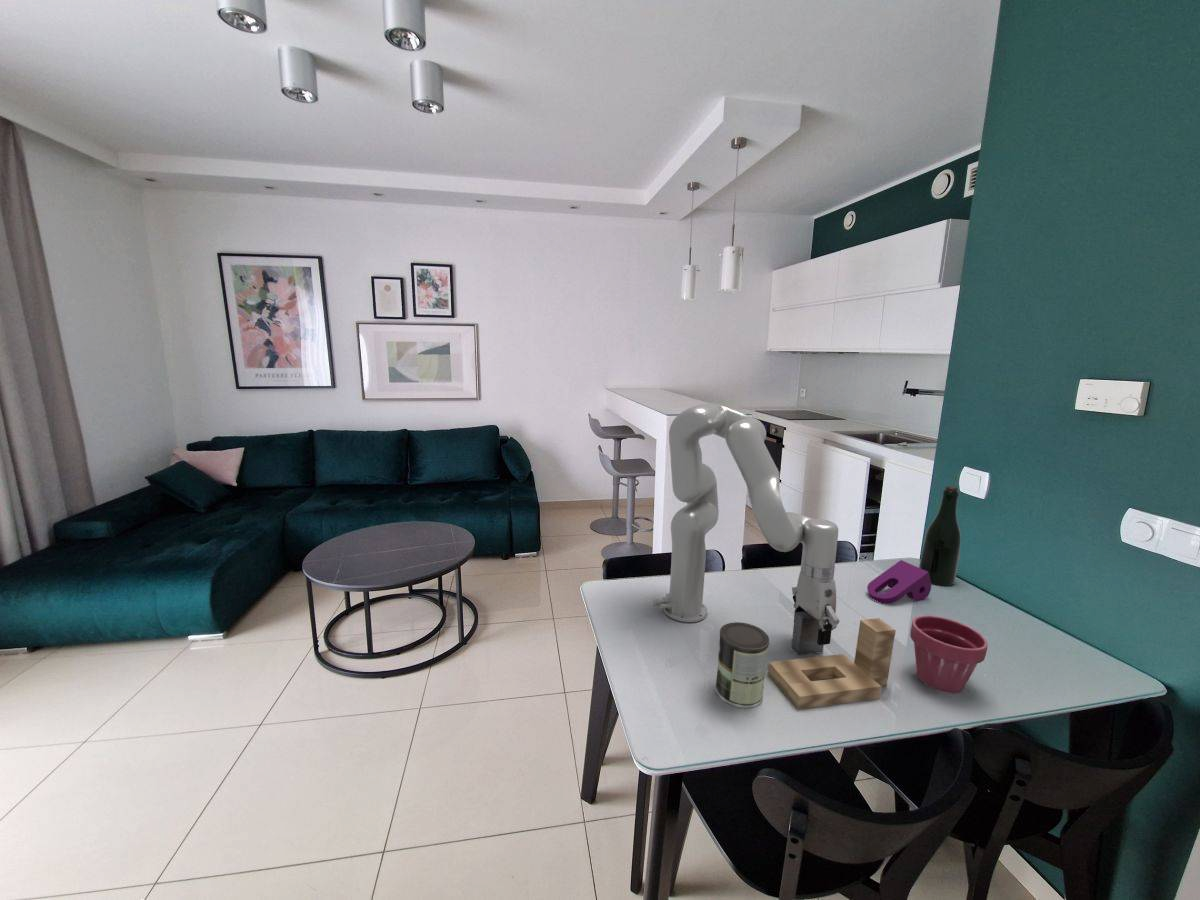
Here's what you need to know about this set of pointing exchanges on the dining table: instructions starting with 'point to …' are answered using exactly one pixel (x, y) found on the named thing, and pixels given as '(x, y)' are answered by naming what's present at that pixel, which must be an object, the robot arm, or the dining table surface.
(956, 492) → the beer bottle
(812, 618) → the tall grey upright slab
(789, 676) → the wooden slotted base
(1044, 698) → the dining table surface
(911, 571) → the mounting bracket
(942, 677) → the plant pot
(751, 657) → the coffee can
